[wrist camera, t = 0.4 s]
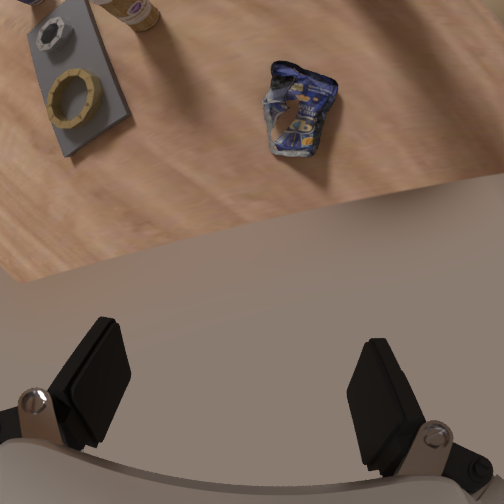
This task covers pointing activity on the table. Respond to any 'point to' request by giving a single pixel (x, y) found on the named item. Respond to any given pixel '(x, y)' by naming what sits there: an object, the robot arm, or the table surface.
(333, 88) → the snack package
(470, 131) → the table surface
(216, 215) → the table surface
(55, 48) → the steel collar
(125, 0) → the sprinkles bottle
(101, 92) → the brass collar
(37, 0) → the pill bottle
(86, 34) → the mounting board
